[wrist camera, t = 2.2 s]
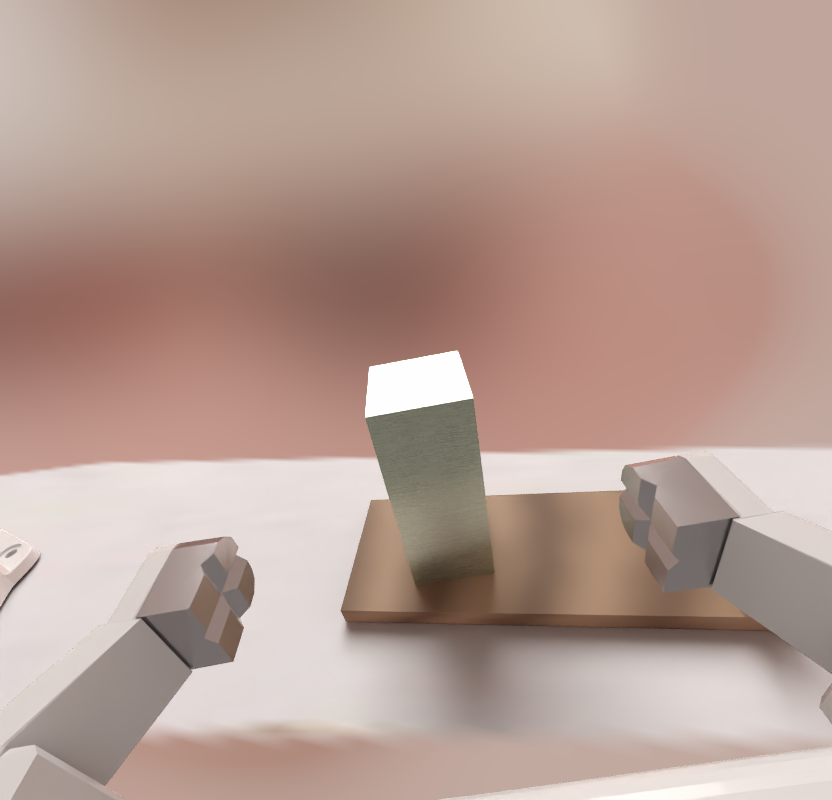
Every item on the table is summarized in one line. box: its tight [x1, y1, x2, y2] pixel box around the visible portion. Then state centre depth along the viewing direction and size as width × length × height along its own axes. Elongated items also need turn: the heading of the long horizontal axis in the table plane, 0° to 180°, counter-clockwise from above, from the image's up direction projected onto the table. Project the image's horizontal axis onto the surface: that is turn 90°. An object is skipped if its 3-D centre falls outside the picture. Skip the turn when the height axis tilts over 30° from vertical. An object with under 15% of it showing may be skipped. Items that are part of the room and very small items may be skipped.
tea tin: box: [365, 351, 495, 586], centre depth 24 cm, size 5×5×13 cm
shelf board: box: [341, 490, 770, 631], centre depth 26 cm, size 24×9×4 cm, turn 83°
